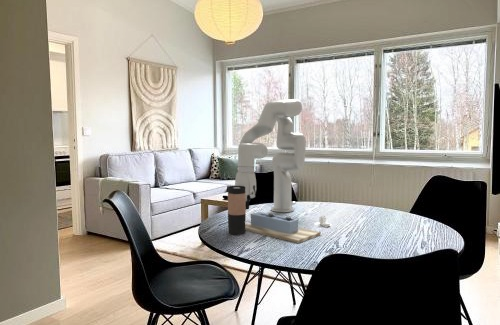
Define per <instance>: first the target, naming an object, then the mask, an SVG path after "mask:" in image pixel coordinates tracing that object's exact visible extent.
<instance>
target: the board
mask: <svg viewBox="0 0 500 325" xmlns="http://www.w3.org/2000/svg"><path fill="white" fill-rule="evenodd" d="M268 215H269V216H270V217H271V218H272V216H274V215H275V214H274V213H272V212H271V213H270V212H269V213H268ZM285 217H286V219H287V221H290V219H291V218H292V217H291V216H285ZM245 231H247V232H251V233H256V234H259V235H264V236H268V237H271V238H276V239H278V240H279V239H280V240H284V241H288V242H292V243H296V244H301V243H302V242H305V241H308V240H310V239H313V238H315V237H316V238H317V237H319V236H321V234H322V233H321V231H317V230H312V229H309V228H304V227H299V226H298V231H297V232H294V233H291V234H288V233H284V232H280V231H275V230H271V229H267V228H262V227H258V226H254V225H251V222H250V223H247V224H246V223H245Z"/></svg>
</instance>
